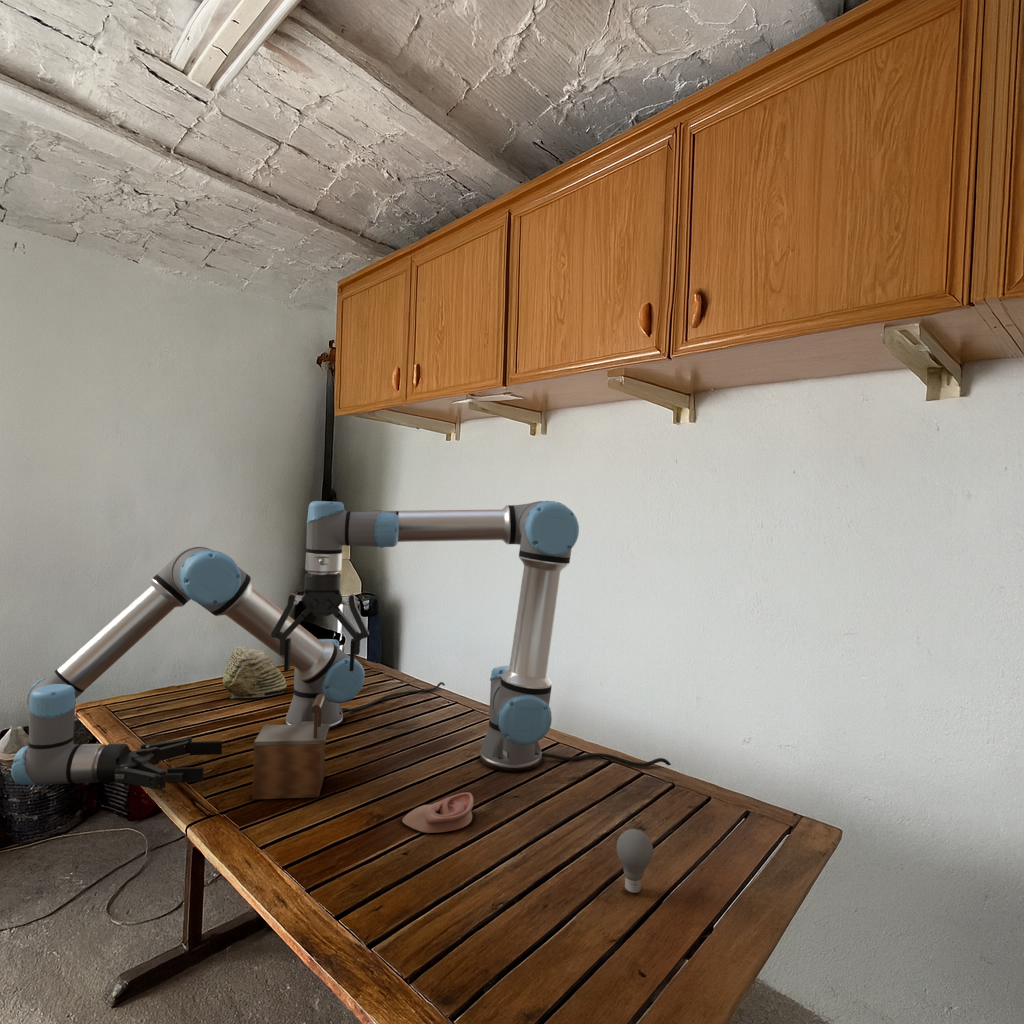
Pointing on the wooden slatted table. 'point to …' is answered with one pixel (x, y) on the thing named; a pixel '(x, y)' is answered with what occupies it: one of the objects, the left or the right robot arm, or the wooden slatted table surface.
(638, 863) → the light bulb
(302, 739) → the lid
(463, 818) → the anatomical model
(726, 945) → the wooden slatted table surface
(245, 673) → the fossil
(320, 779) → the chest
